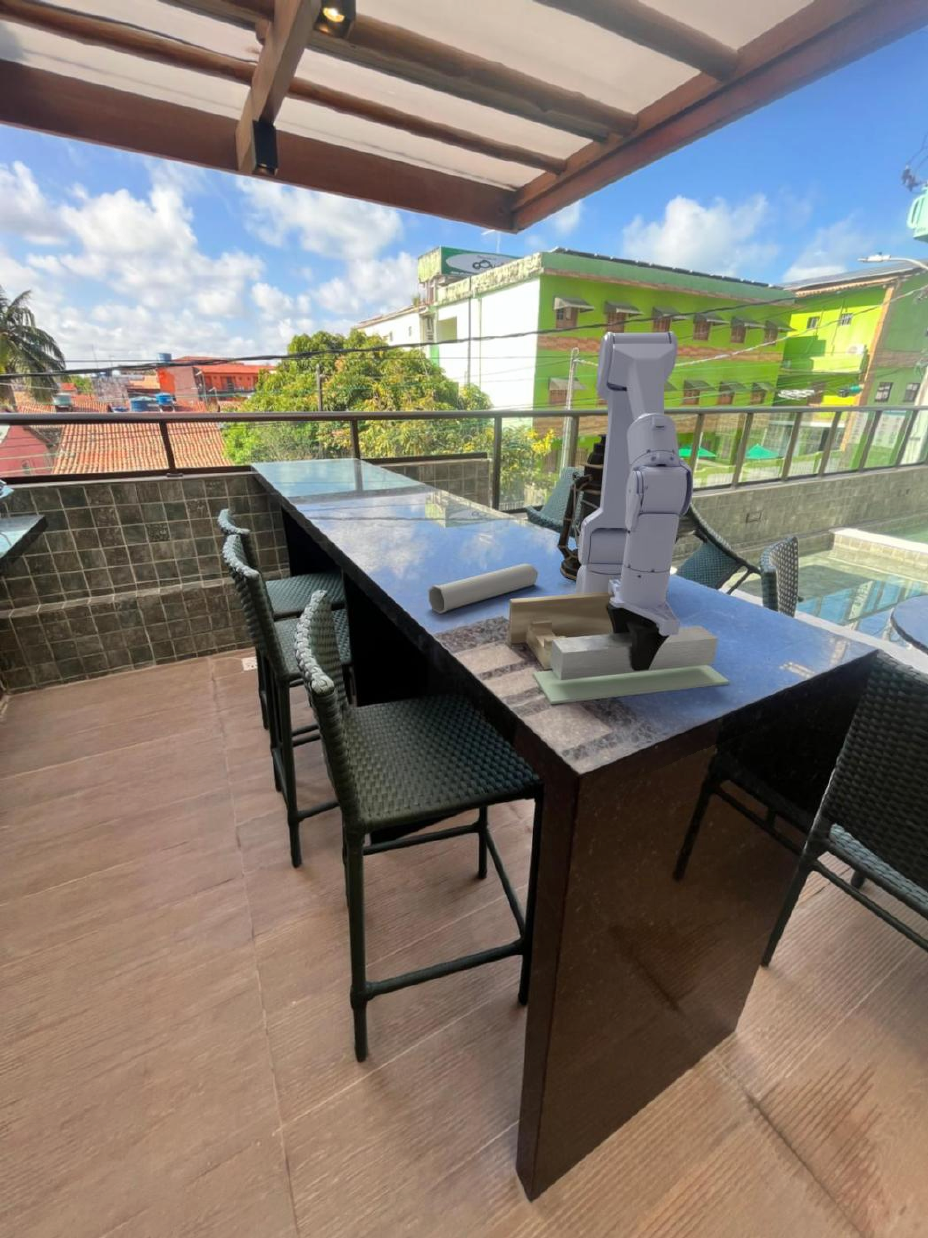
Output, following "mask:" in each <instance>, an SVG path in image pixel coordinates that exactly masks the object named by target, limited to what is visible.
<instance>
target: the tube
mask: <svg viewBox="0 0 928 1238" xmlns="http://www.w3.org/2000/svg"><path fill="white" fill-rule="evenodd" d="M538 575H539V572H538V571H537V569H536V567H535V566H534V565H532V564H529V563H526V562H525V563H521V564H517V565H514V566H510V567H507V568H506V567H505V568H502V569H498V570H494V571H490V572H486V573H483V574H478V575H473V576H471V577H470V576H469V577H468V578H467V577H466V578H463V579H459V580H455V581H451V582H447V583H443V584H439V585H437V584H434V585H432V587H431V586H430V587H429V589H428V603H429V605H430V607H431V609H432V610H433V611H434V612H436V613H437V614H440V615H442V614H444V613H445V612H447V611H451V610H455V609H457V608H461V607H464V606H465V607H466V606H469V605H470V604H475V603H478V602H481V601H484V600H488V599H491V598H494V597H495V598H496V597H497V596H501V595H505V594H508V593H511V592H514V591H517V590H522V589H524V588H528V587H530V586H533V585H534V584H536V583H537V580H538Z"/></svg>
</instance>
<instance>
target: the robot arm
mask: <svg viewBox="0 0 928 1238" xmlns="http://www.w3.org/2000/svg"><path fill="white" fill-rule="evenodd" d="M675 334H676V333H675V332H674V331H673V330H672V331H666V332H612V331H607V332H606V333H605V335H603V337H602V338H601V341H600V346H599V351H598V360H597V371H596V372H597V373H596V384H595V385H596V388H595V389H596V391H597V392H596V395H597V397H598V398H601V399H603V400H604V401H606V409H607V423H606V424H607V425H606V433H605V434H606V445H605V456H604V468H603V479H602V490H601V501H600V508H599V509H598V510H596V511H595V512H593V513H592V514H590V515H589V516H587V517H586V518H585V519H584V520H583V522H582V526H581V533H580V534H579V544H578V547H577V548H578V558H579V562H580V563H581V564H582V565H581V567H580V568H579V570H578V573H577V581H575V582H576V583H575V590H574V591H575V592H574V593H575V594H585V593H599V592H608V593H609V594H610V595H614V596H615V597H612V598H610V603H607V604H606V610H607V612H608V614H609V617H610V620H611V623H612V627H613V633H614V634H615V633H626V632H630V635H631V640H632V659H631V662H632V669H633V670H634V671H642V670H648V669H649V667H650V665H651V663H652V661H653V659H654V657H655V655H656V653H657V652H658V650H659V648H660V647H661V645H662V644H663V643H664V641H665V640H666V639H667V638H668V637H669V636H670V635H678V632H679V627H681V626H680V625H681V622H682V621H681V619H680V618H679V617H677V616H676V614H675V613H674V611H673V609H672V608H671V606H670V604H669V602H668V599H667V597H666V593H667V594H668V586H669V579H670V573H671V568H672V563H673V556H674V551H675V546H676V541H677V535H678V529H679V528H678V527H679V522H680V517H683V516H684V515H686V514H687V512H688V510H689V508H690V506H691V501H692V498H693V492H694V477H693V471H692V467H691V466H690V465H689V464H687V461H686V459H684V458H683V459H682V458H681V456H680V450H679V442H678V435H677V429H676V423H675V421H674V420H673V418H672V417H670V416H669V415H667V414H665V387H664V386H665V384H667V383H668V380H669V378H670V377H671V375H672V373H673V371H674V370H675V369H674V368H675V366H676V363H677V362H676V361H677V357H678V349H679V348H678V339H677V336H676V335H675ZM679 516H680V517H679ZM597 528H625V530H624V529H597ZM665 598H666V599H665ZM642 620H643V621H642Z"/></svg>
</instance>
